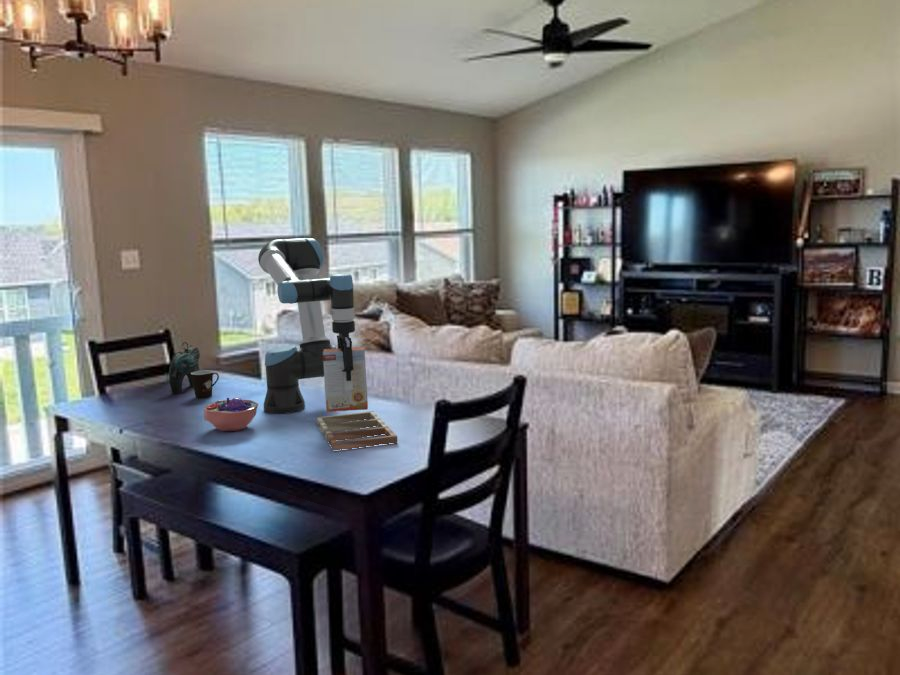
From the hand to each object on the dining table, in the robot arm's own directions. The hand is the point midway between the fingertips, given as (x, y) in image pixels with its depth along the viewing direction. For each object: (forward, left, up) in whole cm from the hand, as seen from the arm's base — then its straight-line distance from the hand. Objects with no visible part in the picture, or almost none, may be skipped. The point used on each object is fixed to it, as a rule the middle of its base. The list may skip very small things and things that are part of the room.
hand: (346, 387), depth 251 cm
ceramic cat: (-86, -53, -14) cm, 102 cm away
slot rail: (+11, 0, -13) cm, 17 cm away
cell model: (-13, -38, -14) cm, 42 cm away
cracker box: (0, 0, -8) cm, 8 cm away
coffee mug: (-68, -45, -14) cm, 82 cm away
